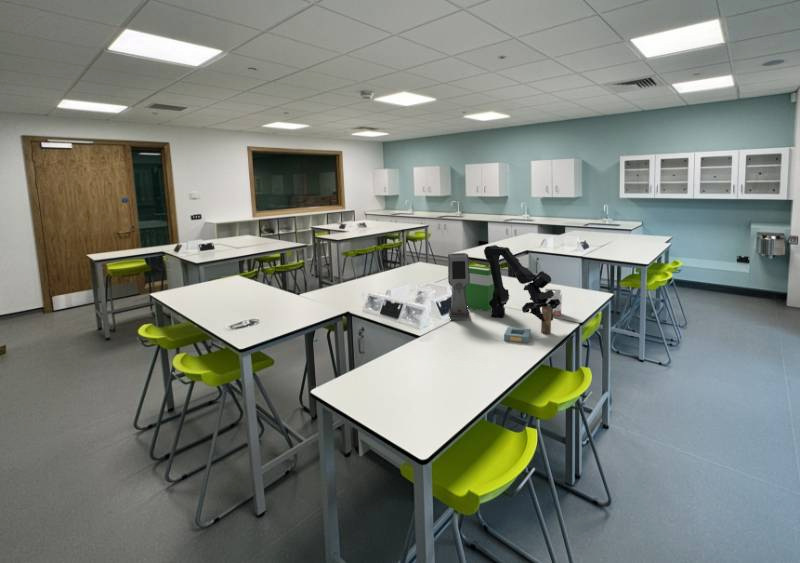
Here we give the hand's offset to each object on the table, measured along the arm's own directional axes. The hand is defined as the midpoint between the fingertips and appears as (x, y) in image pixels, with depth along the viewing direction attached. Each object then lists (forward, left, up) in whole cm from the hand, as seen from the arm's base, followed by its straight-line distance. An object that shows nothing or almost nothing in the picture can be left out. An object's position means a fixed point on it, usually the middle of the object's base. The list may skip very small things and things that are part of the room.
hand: (548, 320), depth 209 cm
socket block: (-13, -10, -7) cm, 17 cm away
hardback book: (-42, +35, -7) cm, 55 cm away
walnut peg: (-1, +1, -7) cm, 7 cm away
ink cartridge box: (0, +33, -7) cm, 34 cm away
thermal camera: (-48, +13, -7) cm, 50 cm away
